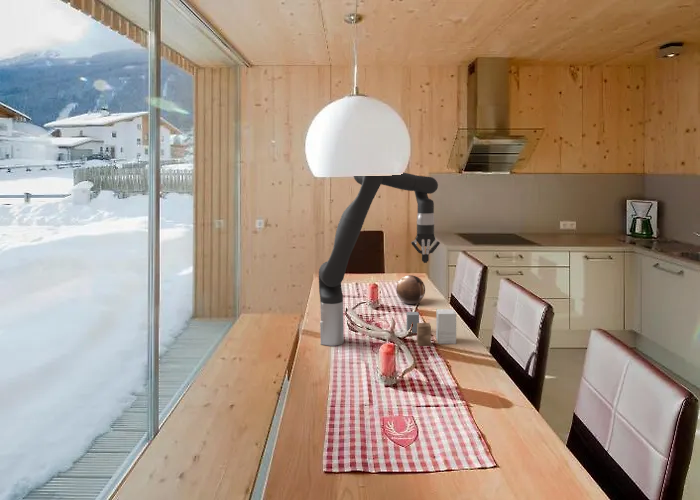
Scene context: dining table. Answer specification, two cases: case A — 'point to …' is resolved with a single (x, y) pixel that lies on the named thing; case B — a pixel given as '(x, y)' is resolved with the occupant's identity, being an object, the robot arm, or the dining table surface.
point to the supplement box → (446, 326)
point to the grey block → (412, 318)
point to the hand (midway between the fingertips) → (425, 262)
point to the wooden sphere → (410, 289)
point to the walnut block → (423, 334)
